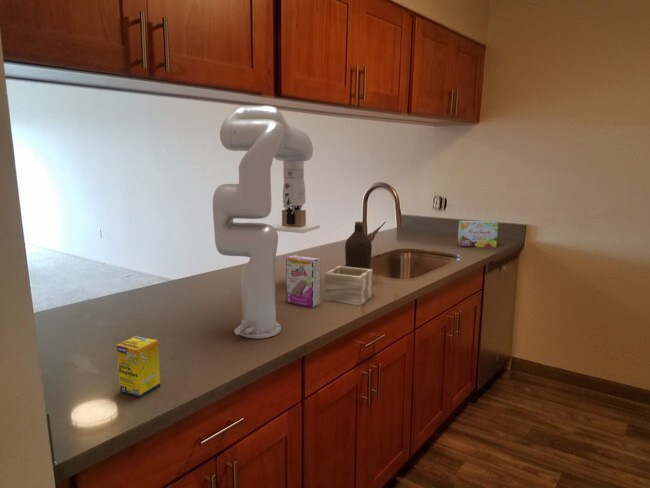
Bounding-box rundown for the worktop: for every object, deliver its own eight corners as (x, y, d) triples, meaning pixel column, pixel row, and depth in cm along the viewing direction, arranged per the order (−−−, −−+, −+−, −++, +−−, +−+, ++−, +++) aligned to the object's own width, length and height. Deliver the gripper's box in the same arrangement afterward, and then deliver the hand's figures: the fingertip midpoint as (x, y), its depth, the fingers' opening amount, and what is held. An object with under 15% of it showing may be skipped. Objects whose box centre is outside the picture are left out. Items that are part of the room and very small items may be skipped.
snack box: (459, 247, 262) (461, 221, 259) (457, 245, 267) (458, 220, 264) (496, 247, 262) (498, 221, 259) (493, 245, 267) (495, 220, 264)
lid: (303, 233, 164) (303, 213, 162) (267, 230, 170) (266, 210, 168) (319, 227, 176) (319, 209, 175) (285, 225, 182) (285, 207, 181)
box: (360, 305, 156) (361, 277, 155) (324, 300, 162) (325, 273, 160) (371, 295, 168) (372, 269, 166) (338, 291, 173) (338, 265, 171)
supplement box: (119, 392, 97) (115, 344, 95) (140, 380, 103) (137, 334, 101) (140, 398, 95) (136, 349, 93) (161, 386, 100) (158, 339, 98)
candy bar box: (285, 303, 159) (285, 257, 155) (293, 299, 163) (293, 254, 160) (312, 308, 153) (312, 260, 150) (320, 304, 157) (320, 258, 154)
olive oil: (376, 284, 184) (378, 222, 179) (357, 288, 177) (358, 224, 172) (357, 278, 191) (359, 219, 187) (339, 282, 185) (339, 221, 180)
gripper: (291, 175, 160) (292, 227, 163) (312, 174, 175) (312, 221, 178) (273, 175, 163) (273, 225, 166) (295, 173, 178) (295, 220, 181)
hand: (293, 223), depth 172 cm, fingers closed on lid, 4 cm apart
